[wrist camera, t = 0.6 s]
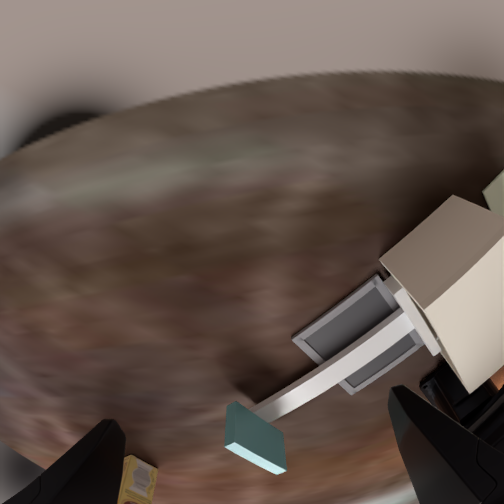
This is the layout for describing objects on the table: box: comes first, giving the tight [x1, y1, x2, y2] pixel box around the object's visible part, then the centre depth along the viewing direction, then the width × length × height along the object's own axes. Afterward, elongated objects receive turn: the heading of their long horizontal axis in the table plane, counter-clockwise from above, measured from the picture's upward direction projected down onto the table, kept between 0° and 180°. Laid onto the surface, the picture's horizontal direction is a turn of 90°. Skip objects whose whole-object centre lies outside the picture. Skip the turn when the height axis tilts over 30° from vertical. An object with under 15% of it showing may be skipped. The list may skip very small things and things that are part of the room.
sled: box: [224, 275, 441, 475], centre depth 20 cm, size 8×24×5 cm, turn 131°
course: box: [291, 170, 504, 395], centre depth 18 cm, size 10×24×7 cm, turn 131°
